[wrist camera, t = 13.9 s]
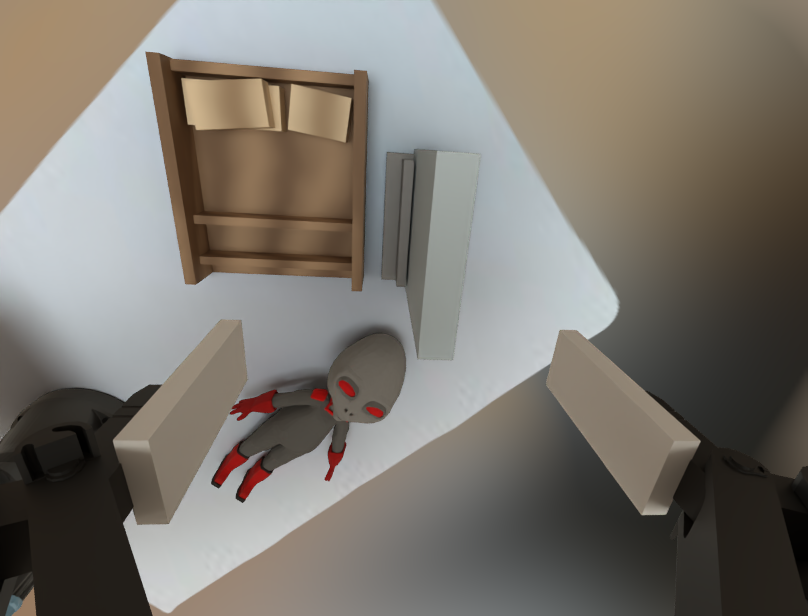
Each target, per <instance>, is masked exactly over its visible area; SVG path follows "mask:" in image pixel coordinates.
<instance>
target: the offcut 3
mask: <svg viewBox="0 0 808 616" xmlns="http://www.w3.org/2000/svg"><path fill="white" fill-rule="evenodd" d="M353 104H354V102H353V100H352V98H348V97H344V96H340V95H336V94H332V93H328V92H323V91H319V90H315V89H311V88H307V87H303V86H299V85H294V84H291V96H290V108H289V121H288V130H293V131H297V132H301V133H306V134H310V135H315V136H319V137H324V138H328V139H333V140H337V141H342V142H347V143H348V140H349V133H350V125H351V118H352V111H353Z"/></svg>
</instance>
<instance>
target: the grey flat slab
mask: <svg viewBox="0 0 808 616" xmlns="http://www.w3.org/2000/svg"><path fill="white" fill-rule="evenodd" d="M480 158H481V154H475V153H461V152H447V151H433V150H419V149H414V173H413V187H412V201H411V215H410V229H409V243H408V257H407V271H406V285H405V289H406V295H407V301H408V306H409V312H410V318H411V323H412V329H413V335H414V341H415V346H416V352H417V358H418V359H423V360H453V357H454V350H455V342H456V335H457V328H458V320H459V313H460V306H461V298H462V291H463V283H464V276H465V269H466V261H467V254H468V246H469V239H470V232H471V224H472V217H473V210H474V202H475V195H476V187H477V180H478V173H479V165H480Z"/></svg>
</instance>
